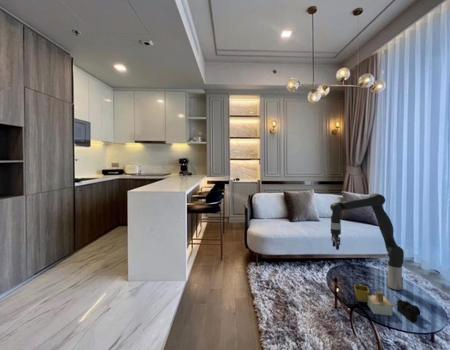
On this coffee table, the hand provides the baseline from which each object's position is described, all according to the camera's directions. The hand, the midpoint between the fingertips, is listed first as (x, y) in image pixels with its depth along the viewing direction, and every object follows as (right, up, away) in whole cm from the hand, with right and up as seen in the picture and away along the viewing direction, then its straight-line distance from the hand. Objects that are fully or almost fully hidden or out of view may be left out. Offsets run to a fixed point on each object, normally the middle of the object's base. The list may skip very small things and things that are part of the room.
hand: (335, 248), depth 202 cm
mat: (+22, -31, -23) cm, 44 cm away
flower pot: (+8, -31, -23) cm, 39 cm away
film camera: (+29, -32, -42) cm, 60 cm away
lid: (+14, -26, -35) cm, 46 cm away
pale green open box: (+14, -31, -35) cm, 49 cm away
